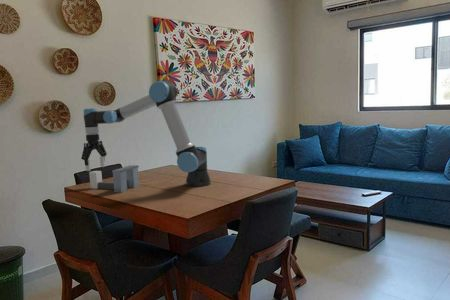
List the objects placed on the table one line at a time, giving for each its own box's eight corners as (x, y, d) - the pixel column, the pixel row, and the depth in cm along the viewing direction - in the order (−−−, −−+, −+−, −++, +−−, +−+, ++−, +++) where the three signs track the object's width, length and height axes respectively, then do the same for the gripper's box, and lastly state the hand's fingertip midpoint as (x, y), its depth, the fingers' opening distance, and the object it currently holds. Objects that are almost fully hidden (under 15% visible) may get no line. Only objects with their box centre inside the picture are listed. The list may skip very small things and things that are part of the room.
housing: (140, 185, 231) (138, 165, 229) (122, 192, 214) (120, 170, 212) (131, 185, 233) (129, 165, 231) (113, 192, 216) (111, 170, 215)
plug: (123, 187, 227) (121, 171, 226) (118, 189, 223) (116, 173, 222) (95, 186, 234) (94, 170, 233) (90, 188, 230) (88, 172, 229)
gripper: (100, 132, 240) (103, 165, 242) (72, 136, 217) (76, 172, 219) (110, 132, 237) (113, 165, 240) (82, 135, 214) (86, 172, 217)
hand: (95, 168), depth 230 cm, fingers open, 13 cm apart
